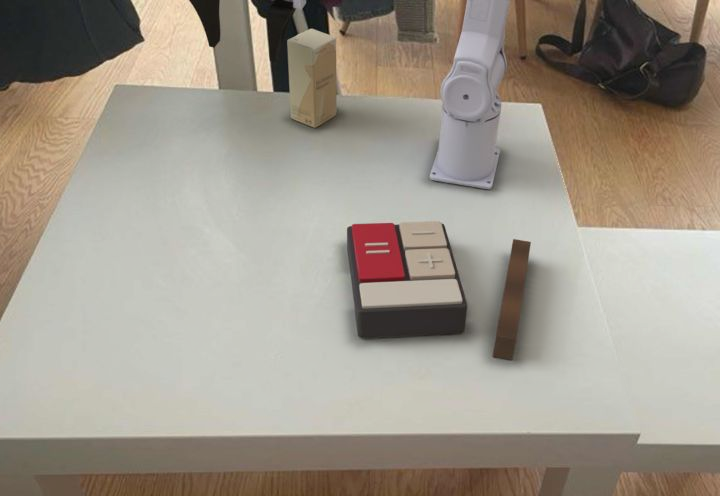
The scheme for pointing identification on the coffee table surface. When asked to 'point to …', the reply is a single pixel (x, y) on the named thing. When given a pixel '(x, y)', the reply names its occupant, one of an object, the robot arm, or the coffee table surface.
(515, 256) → the rail
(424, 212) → the coffee table surface
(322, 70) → the box
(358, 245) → the calculator
